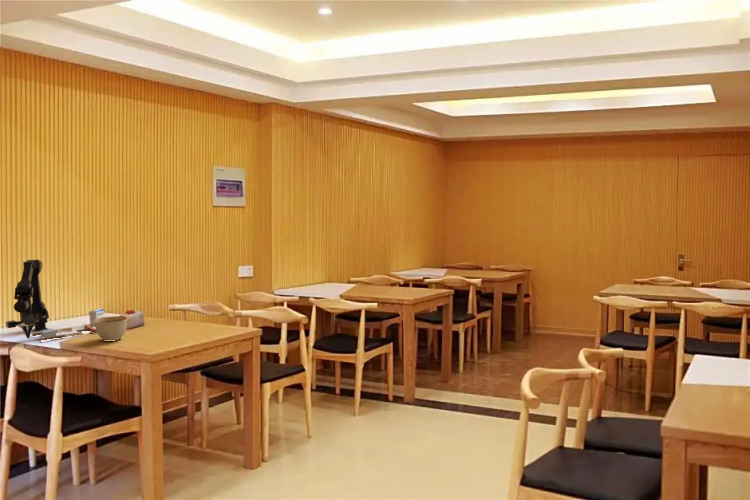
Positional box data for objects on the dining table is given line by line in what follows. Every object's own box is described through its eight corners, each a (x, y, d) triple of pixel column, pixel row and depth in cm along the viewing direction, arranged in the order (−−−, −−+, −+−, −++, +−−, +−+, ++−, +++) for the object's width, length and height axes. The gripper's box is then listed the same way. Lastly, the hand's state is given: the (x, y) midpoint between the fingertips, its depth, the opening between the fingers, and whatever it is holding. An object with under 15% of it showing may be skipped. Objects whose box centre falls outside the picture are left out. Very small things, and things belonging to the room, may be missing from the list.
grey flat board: (32, 336, 374) (32, 333, 373) (87, 328, 392) (87, 324, 391) (40, 342, 361) (40, 338, 360) (97, 333, 379) (97, 329, 378)
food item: (126, 330, 383) (124, 313, 382) (116, 329, 387) (115, 311, 386) (145, 325, 394) (144, 308, 393) (136, 324, 398) (135, 307, 397)
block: (40, 338, 371) (40, 330, 371) (52, 336, 375) (52, 328, 375) (44, 340, 367) (44, 332, 366) (56, 338, 371) (56, 330, 370)
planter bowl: (109, 345, 351) (107, 324, 350) (88, 341, 360) (87, 320, 359) (135, 338, 365) (134, 317, 364) (115, 335, 373) (113, 314, 372)
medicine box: (97, 326, 396) (96, 311, 395) (90, 326, 397) (89, 310, 396) (105, 323, 404) (104, 308, 403) (98, 322, 405) (97, 308, 404)
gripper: (9, 313, 351) (12, 344, 352) (49, 308, 362) (51, 337, 364) (4, 310, 359) (6, 340, 361) (43, 305, 371) (45, 334, 373)
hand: (28, 338), depth 364 cm, fingers closed
